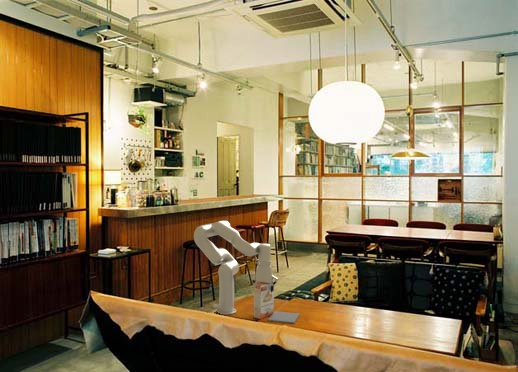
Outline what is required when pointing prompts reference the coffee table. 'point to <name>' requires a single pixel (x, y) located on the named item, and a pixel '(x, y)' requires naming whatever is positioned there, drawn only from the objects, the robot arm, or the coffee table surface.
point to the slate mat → (284, 317)
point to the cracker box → (263, 300)
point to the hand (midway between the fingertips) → (264, 291)
